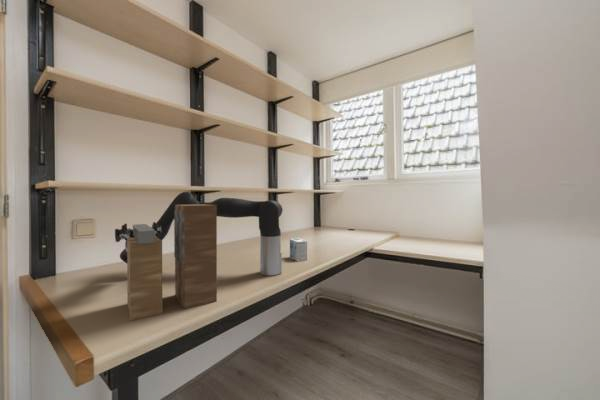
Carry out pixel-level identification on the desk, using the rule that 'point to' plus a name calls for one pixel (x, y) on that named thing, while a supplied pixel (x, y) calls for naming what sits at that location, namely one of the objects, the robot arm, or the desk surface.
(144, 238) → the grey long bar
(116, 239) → the robot arm
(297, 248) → the light bulb box
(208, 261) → the tall brown wooden block
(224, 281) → the desk surface
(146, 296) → the oak step
